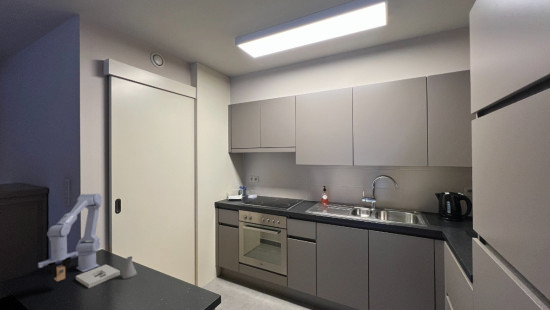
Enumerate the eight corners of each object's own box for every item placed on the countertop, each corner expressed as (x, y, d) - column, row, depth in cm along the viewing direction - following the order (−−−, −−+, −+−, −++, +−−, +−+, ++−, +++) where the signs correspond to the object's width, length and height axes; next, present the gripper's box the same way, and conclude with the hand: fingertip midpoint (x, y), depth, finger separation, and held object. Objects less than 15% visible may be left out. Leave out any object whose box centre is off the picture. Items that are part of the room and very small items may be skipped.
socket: (75, 279, 116) (75, 275, 116) (106, 267, 129) (106, 263, 129) (88, 288, 109) (88, 283, 109) (119, 274, 121) (119, 270, 121)
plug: (54, 279, 109) (54, 267, 109) (62, 276, 112) (62, 264, 112) (57, 282, 107) (57, 269, 107) (66, 278, 109) (65, 267, 109)
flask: (124, 280, 115) (124, 262, 115) (119, 276, 119) (119, 258, 119) (139, 274, 120) (139, 256, 120) (134, 270, 125) (133, 253, 125)
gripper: (41, 256, 101) (41, 285, 101) (80, 244, 114) (81, 270, 114) (36, 253, 105) (37, 280, 105) (75, 242, 117) (75, 267, 117)
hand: (59, 275), depth 109 cm, fingers closed on plug, 3 cm apart
